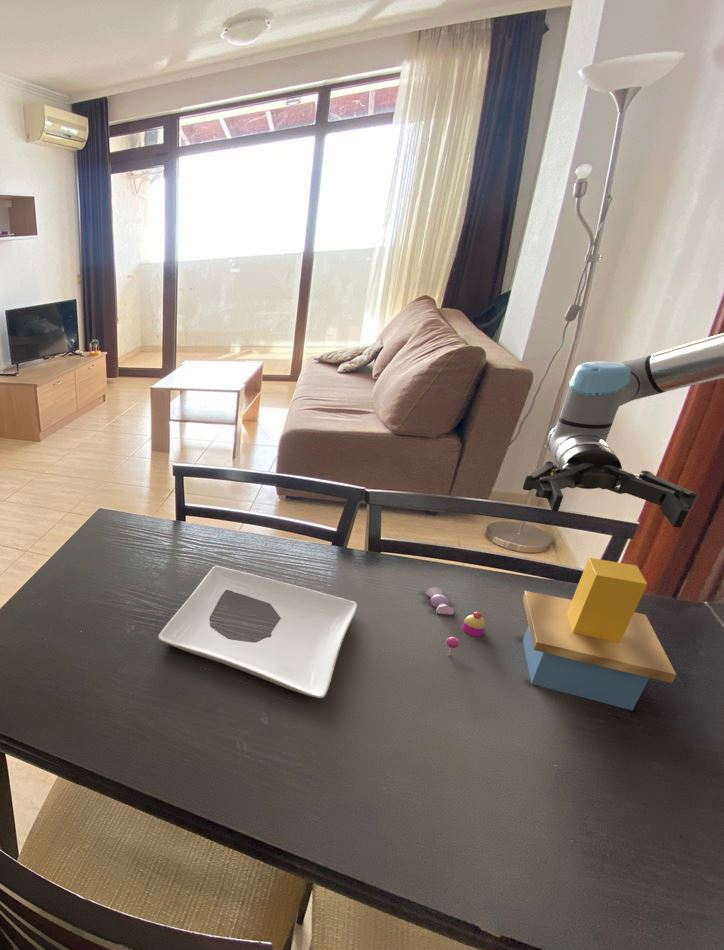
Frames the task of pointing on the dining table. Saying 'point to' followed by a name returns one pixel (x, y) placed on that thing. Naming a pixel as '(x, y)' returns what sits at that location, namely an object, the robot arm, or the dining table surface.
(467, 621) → the candy
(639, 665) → the birch board
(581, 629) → the yellow block
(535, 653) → the blue box
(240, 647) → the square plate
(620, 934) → the dining table surface
